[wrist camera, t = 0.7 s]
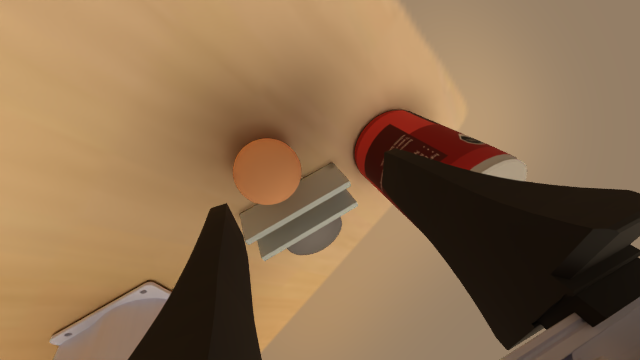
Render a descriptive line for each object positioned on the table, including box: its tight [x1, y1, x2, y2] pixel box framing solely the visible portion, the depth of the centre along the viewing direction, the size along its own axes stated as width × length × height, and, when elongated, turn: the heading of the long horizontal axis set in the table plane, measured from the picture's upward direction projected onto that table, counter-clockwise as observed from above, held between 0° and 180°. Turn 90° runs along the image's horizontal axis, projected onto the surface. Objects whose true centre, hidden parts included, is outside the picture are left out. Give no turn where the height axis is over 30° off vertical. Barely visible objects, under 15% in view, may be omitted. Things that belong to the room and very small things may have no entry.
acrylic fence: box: [240, 163, 358, 261], centre depth 22 cm, size 10×3×4 cm, turn 111°
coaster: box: [287, 217, 342, 255], centre depth 27 cm, size 7×7×1 cm
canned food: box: [355, 110, 527, 226], centre depth 20 cm, size 8×8×11 cm
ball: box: [233, 138, 301, 205], centre depth 18 cm, size 5×5×5 cm
